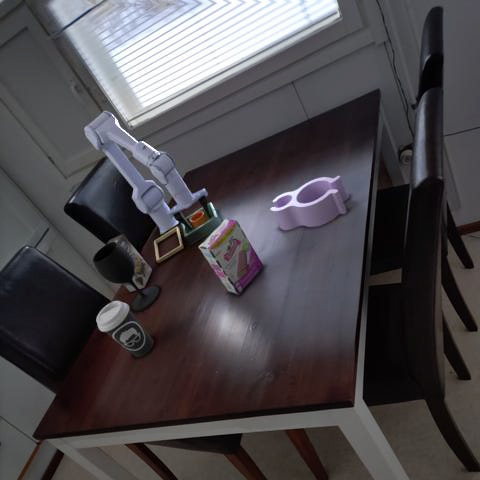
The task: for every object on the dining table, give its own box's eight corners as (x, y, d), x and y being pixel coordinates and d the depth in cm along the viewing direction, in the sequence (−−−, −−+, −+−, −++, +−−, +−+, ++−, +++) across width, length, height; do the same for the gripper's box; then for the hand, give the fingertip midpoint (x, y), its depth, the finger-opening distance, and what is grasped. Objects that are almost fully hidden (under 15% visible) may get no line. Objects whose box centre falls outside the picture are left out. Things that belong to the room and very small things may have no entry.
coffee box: (145, 287, 148) (113, 251, 138) (130, 292, 151) (98, 257, 141) (153, 269, 154) (123, 233, 144) (138, 274, 157) (108, 239, 147)
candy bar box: (240, 295, 119) (208, 249, 109) (228, 292, 123) (196, 247, 113) (265, 266, 122) (237, 219, 112) (253, 263, 126) (224, 217, 116)
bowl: (196, 227, 158) (189, 217, 155) (208, 219, 157) (202, 209, 154) (198, 234, 154) (190, 224, 151) (211, 226, 153) (204, 215, 150)
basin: (186, 230, 162) (180, 221, 159) (216, 211, 160) (210, 202, 157) (191, 246, 152) (184, 236, 149) (223, 226, 150) (217, 216, 147)
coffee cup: (163, 332, 125) (129, 295, 116) (149, 360, 120) (113, 324, 110) (138, 335, 130) (104, 301, 121) (124, 362, 125) (87, 328, 116)
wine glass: (136, 316, 138) (93, 269, 126) (129, 302, 146) (87, 257, 134) (163, 294, 139) (122, 246, 127) (154, 282, 147) (115, 235, 135)
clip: (277, 237, 129) (267, 218, 125) (285, 211, 137) (275, 192, 133) (345, 218, 119) (336, 197, 115) (349, 191, 127) (341, 170, 123)
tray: (156, 244, 166) (153, 241, 165) (179, 229, 164) (177, 226, 163) (159, 264, 154) (156, 261, 153) (184, 249, 153) (181, 245, 152)
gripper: (160, 206, 144) (184, 239, 152) (199, 182, 142) (220, 216, 150) (159, 198, 149) (181, 230, 158) (196, 174, 147) (217, 207, 156)
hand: (200, 222), depth 154 cm, fingers open, 7 cm apart
